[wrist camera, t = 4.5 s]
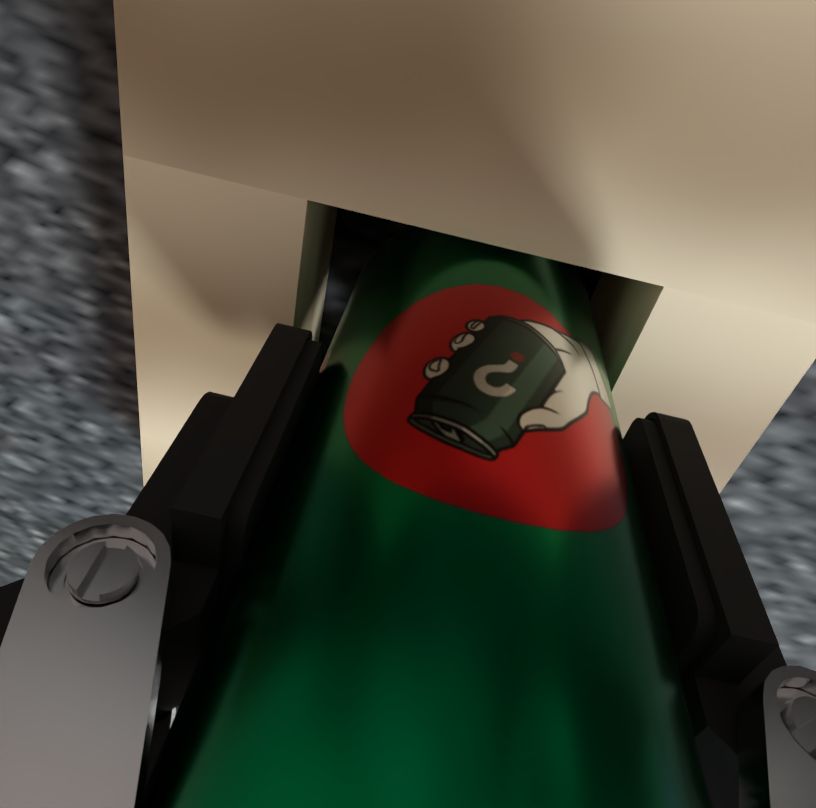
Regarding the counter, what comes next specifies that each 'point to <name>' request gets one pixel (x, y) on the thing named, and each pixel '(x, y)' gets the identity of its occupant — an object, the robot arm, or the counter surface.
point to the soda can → (444, 571)
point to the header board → (480, 180)
